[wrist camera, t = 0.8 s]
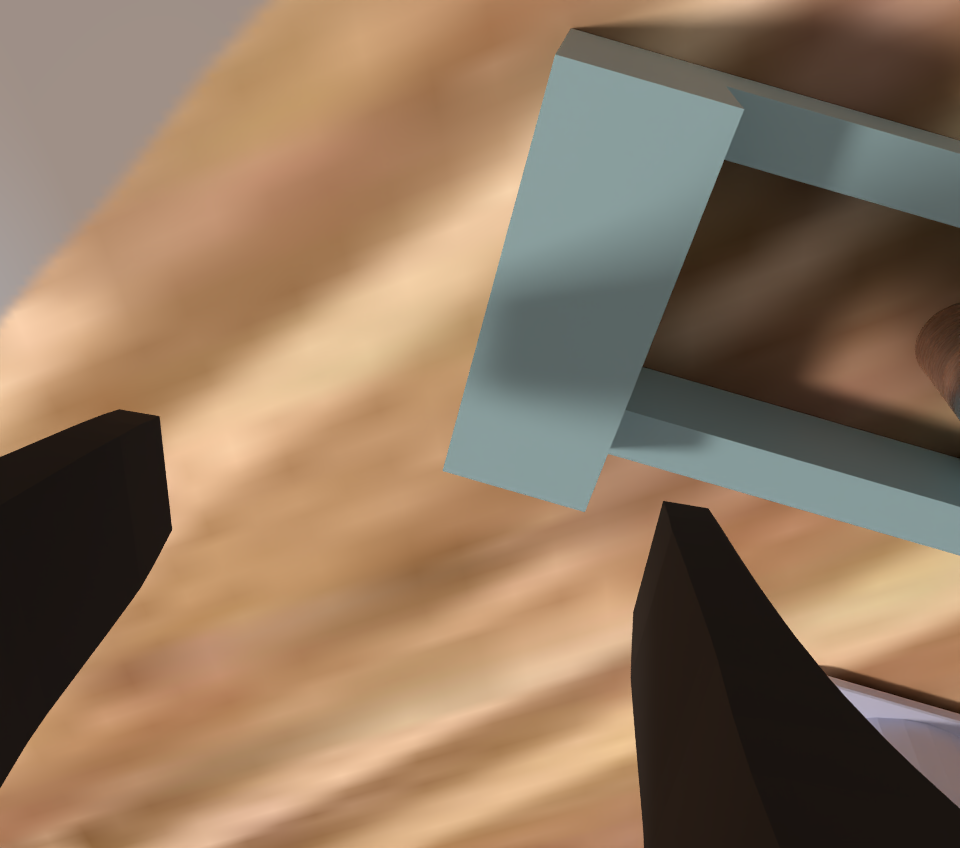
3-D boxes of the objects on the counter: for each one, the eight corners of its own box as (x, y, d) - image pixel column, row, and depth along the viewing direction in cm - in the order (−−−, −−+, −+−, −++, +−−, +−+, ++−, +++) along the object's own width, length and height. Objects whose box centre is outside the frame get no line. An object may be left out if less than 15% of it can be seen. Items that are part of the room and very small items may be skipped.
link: (1194, 208, 17) (1393, 296, 12) (979, 509, 21) (1072, 653, 17) (570, 28, 17) (555, 54, 12) (478, 364, 21) (443, 471, 17)
